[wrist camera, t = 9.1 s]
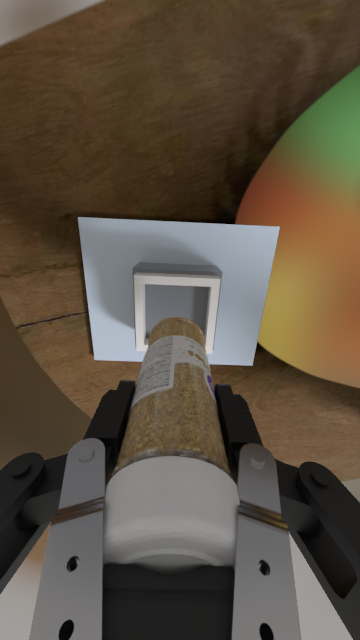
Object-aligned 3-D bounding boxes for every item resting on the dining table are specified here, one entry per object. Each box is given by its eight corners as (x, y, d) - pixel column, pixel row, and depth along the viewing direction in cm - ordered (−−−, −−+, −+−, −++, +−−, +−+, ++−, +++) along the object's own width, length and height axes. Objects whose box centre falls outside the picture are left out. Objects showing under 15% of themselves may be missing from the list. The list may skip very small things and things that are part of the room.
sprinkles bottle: (214, 348, 18) (288, 598, 6) (168, 372, 19) (148, 634, 7) (185, 303, 17) (202, 511, 5) (136, 332, 18) (39, 573, 5)
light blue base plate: (276, 226, 25) (305, 226, 19) (250, 362, 32) (266, 392, 26) (80, 217, 25) (50, 214, 19) (96, 356, 32) (77, 385, 26)
